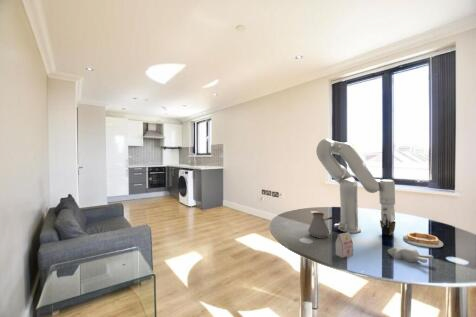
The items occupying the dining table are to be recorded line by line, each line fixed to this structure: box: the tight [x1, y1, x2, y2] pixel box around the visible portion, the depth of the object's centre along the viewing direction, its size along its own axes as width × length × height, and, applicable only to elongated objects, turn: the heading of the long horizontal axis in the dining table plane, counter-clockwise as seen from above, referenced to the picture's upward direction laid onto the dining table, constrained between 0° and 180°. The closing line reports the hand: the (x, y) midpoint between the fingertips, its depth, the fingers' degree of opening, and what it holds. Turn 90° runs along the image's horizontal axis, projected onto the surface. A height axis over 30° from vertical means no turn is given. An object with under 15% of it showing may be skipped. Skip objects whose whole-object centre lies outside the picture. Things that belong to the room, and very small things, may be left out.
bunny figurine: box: [387, 246, 434, 264], centre depth 96 cm, size 10×5×15 cm
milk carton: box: [335, 232, 354, 259], centre depth 102 cm, size 4×7×10 cm, turn 113°
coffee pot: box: [307, 211, 343, 239], centre depth 123 cm, size 21×12×15 cm, turn 27°
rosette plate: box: [402, 231, 444, 249], centre depth 116 cm, size 16×16×3 cm
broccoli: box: [379, 219, 396, 236], centre depth 128 cm, size 8×7×8 cm
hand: (388, 231), depth 128 cm, fingers closed on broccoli, 6 cm apart
